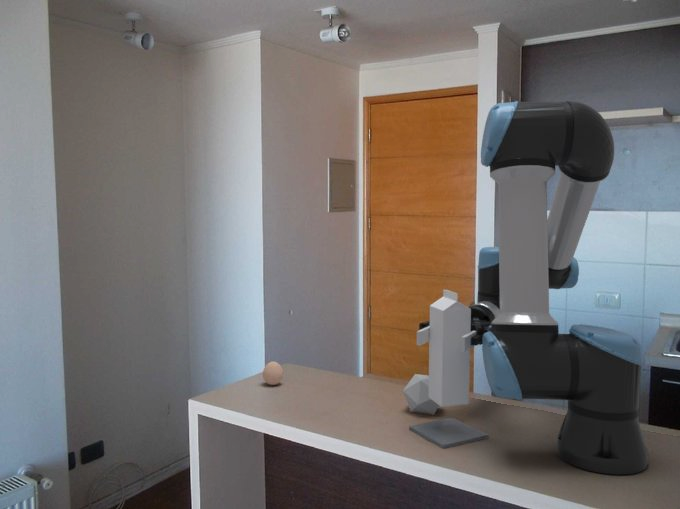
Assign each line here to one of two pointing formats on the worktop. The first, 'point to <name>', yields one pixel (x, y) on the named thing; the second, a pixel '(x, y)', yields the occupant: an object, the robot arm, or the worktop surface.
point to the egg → (272, 373)
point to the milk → (449, 351)
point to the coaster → (448, 432)
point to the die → (419, 395)
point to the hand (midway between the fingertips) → (440, 341)
